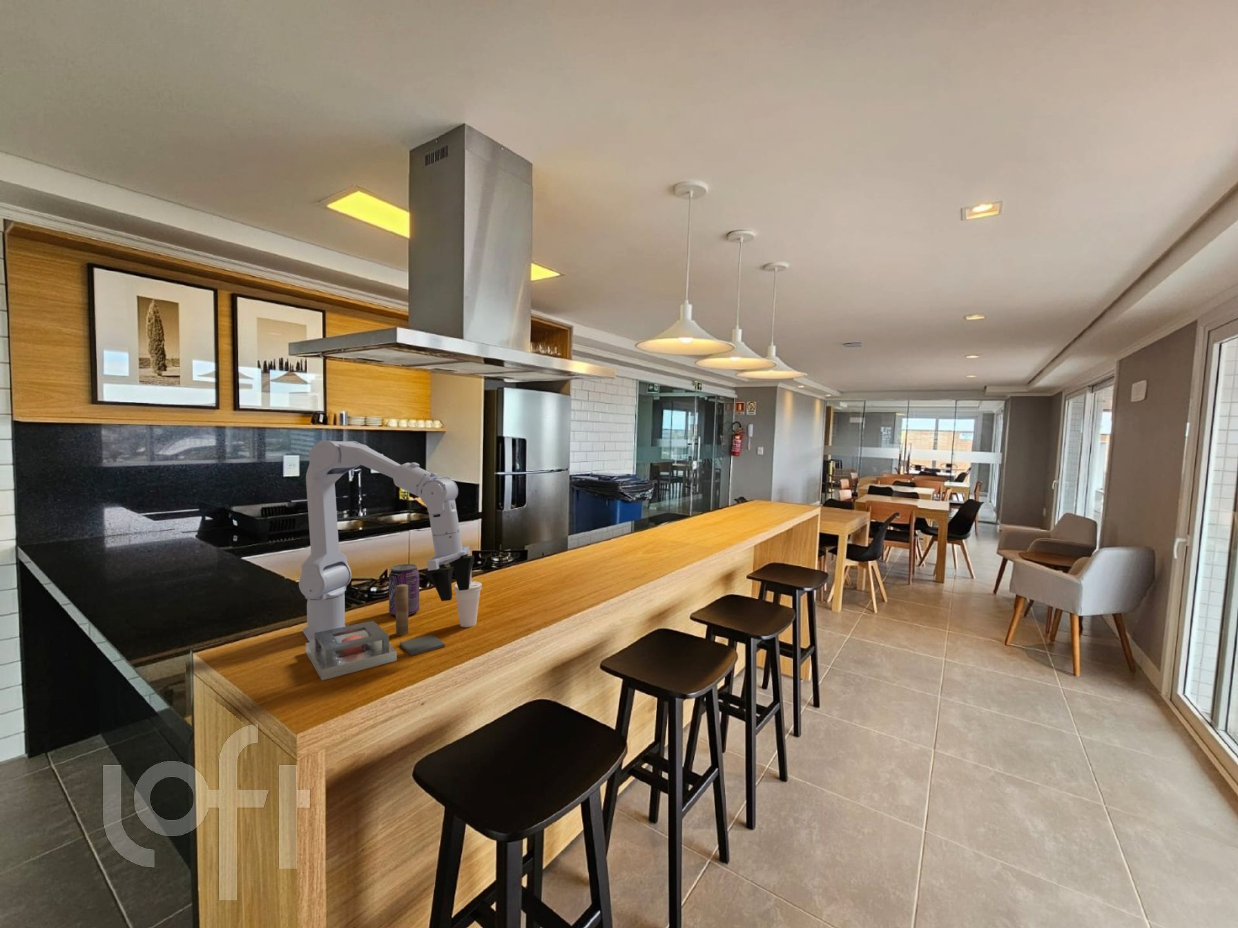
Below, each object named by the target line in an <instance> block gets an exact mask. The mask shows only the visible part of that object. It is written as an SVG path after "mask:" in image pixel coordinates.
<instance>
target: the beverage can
mask: <svg viewBox="0 0 1238 928" xmlns="http://www.w3.org/2000/svg"><path fill="white" fill-rule="evenodd" d="M402 584H406V585H408V616H411V614H412V615H414V614H415V613H416V612H418V611H419V610H420V571H419V570H418V565H417V564H415V563H413V564H412V563H403V564H397V565H393V566H391V567H390V572H389V574H388V601H389V602H388V612H389V615H393V616H395V617H396V586H397V585H402ZM413 613H414V614H413Z"/></svg>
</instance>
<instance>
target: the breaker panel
mask: <svg viewBox="0 0 1238 928" xmlns="http://www.w3.org/2000/svg"><path fill="white" fill-rule="evenodd" d="M349 633H350V634H349ZM344 634H345V635H344ZM340 635H341V636H340ZM335 636H336V637H335ZM351 636H361V637H362V638H360V639H355V640H351V641H347V642H342V640H343V639H345V638H347V637H351ZM359 645H362V652H360V653H358V654H354V655H345V656H344V655H343V654H342V649H346V648H350V647H355V646H359ZM397 652H398V651H397V650H396V649H395V648H394V646H393V645H392V644H390V635H389V634H388V633H387V632H386V631H385V630H384V629H383V628H382V627H381V626H379V624H377V623H376V622H375V620H370V621H365V622H360V623H357V624H356V623H355V624H351V625H345V627H341V628H336V629H331V630H326V631H321V632H317V633H315V641H313V642H309V641H308V642H305V654H306V656H307V657H308V659H309V660H310V662H311V663H312V664H311V665H313V666H312V667H314V669H315V671H316V673H317V674H318V676H319V678H320V680H321V681H325V680H329V679H333V678H337V677H340V676H344V675H349V674H352V673H355V672H359V671H364V670H366V669H371V668H374V667H378V666H381V665H385V664H390V663H393V662H397V660H398V657H397V654H398V653H397Z"/></svg>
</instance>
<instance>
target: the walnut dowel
mask: <svg viewBox="0 0 1238 928" xmlns="http://www.w3.org/2000/svg"><path fill="white" fill-rule="evenodd" d="M408 634H409V615H408V585H406V584H402V585H397V586H396V616H395V636H397V637H403V635H404V636H407V635H408Z"/></svg>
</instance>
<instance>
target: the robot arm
mask: <svg viewBox="0 0 1238 928" xmlns="http://www.w3.org/2000/svg"><path fill="white" fill-rule="evenodd" d="M308 456H309V458H308V460H309V465H308V467H307V470H306V475H305V484H306V499H307V511H308V512H307V514H308V515H307V517H308V530H309V542H310V545H309V546H310V555H309V556H308V557H307V558H306V559H305V561H304V562H303V563H302V565H301V574H300V576H299V578H298V579H299V580H298V588H299V590H300V592H301V594H302V595H303V596H304V598H305V599H306V600H307V601H306V627H303V628H301V629H302V630H301V631H302V633H303V634H304V636H305V638H307V641H308V643H309V642H313V641H315V633H317V632H321V631H326V630H331V629H336V628H341V627H345V626H346V624H345V623H346V621H345V619H346V618H345V617H346V615H345V614H346V612H345V611H346V610H345V609H346V605H345V591H347V586H348V585H349V584H350V582H351V580H352V576H353V575H352V570H351V567H350V566H349V563H348V557H347V555H346V554H344V553H343V552H342V551H341V550H340V541H339V530H338V529H339V528H338V513H337V499H336V498H337V497H336V486H335V484H336V482H337V481H338V480H339V479H340V478H341V477H342V476H344V475H345V474H347V473H348V472H350V471H352V470H354V469H357V468H358V467H360V466H363V467H365V468H368V469H371V470H373V471H375V472H377V473H380V474H382V475H385V476H388V477H389V478H391V479H392V480H393V484H394V486H395V487H397V488H399V489H402V490H404V491H406V492H409V493H410V494H412V495H414V496H416V497H418V498H420V500H421V502H422V503H423V504H424V505H425V506H426V508H427V513H428V517H429V523H430V529H431V537H432V543H433V550H434V554H435V555H434V556H433V557H432V558H430V559H429V560H427V561H426V566H427V569H425V571H424V572H425V576H427V577H428V579H429V580H430V581H431V583H432V584H433V586H434V587H435V590H436V591H437V594H438V596H439V600H440V601H441V602H446V601H447V602H449V601H451V600H452V599H453V586H452V585H453V581H452V580H453V575H454V577H455V581H456V584H457V586H458V589H459V591H461V590H468V589H469V583H470V573H471V574H472V567H473V563H474V562H475V555H471V550H470V546H469V545H465V546H463V544H462V543H463V541H462V537H461V536H462V535H461V530H460V523H459V517H458V510H457V503H456V499H457V497H458V495H459V488H458V485H457V483H456V482H455V481H454V480H453V479H451V477H448V476H445V477H443V476H442V477H439V474H438V473H436V472H435V471H434V472H429V471H428V470H425V469H424V468H421V467H420V464H419V463H417V462H406V463H403V464H400V463H399V462H396V461H394V460H393V459H391V458H389V457H388V456H385V455H383V454H381V453H380V452H378V451H376V450H375V449H373V448H370V446H368V445H366V444H363V443H360V442H358V441H356V440H349V441H345V440H344V441H341V440H340V441H339V440H338V441H337V440H325V439H323V440H321V441H318V442H317V443H316V444H315V445H314V446H313V447H312V448H310V449H309V451H308ZM448 564H449V565H450V566H449V567H447V566H446V565H448ZM349 634H350V633H349ZM344 635H345V634H344ZM340 636H341V635H340ZM335 637H336V636H335Z"/></svg>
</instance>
